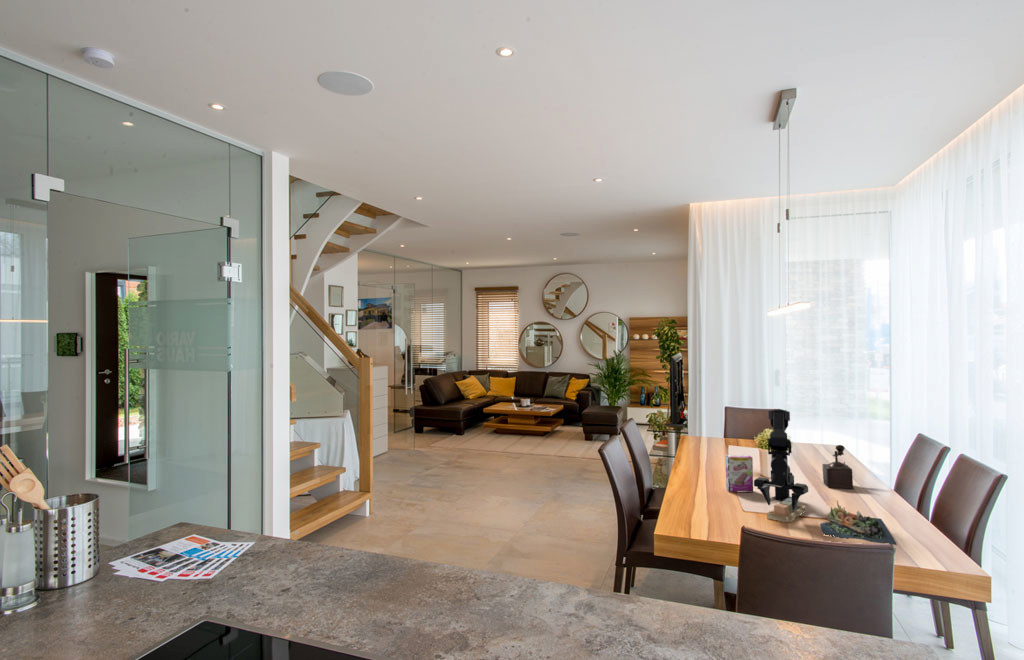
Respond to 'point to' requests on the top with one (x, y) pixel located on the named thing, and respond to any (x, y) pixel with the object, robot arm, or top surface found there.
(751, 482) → the candy bar box
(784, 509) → the terracotta block
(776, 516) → the block frame
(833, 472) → the manual coffee grinder
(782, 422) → the robot arm
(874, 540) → the plated dish
